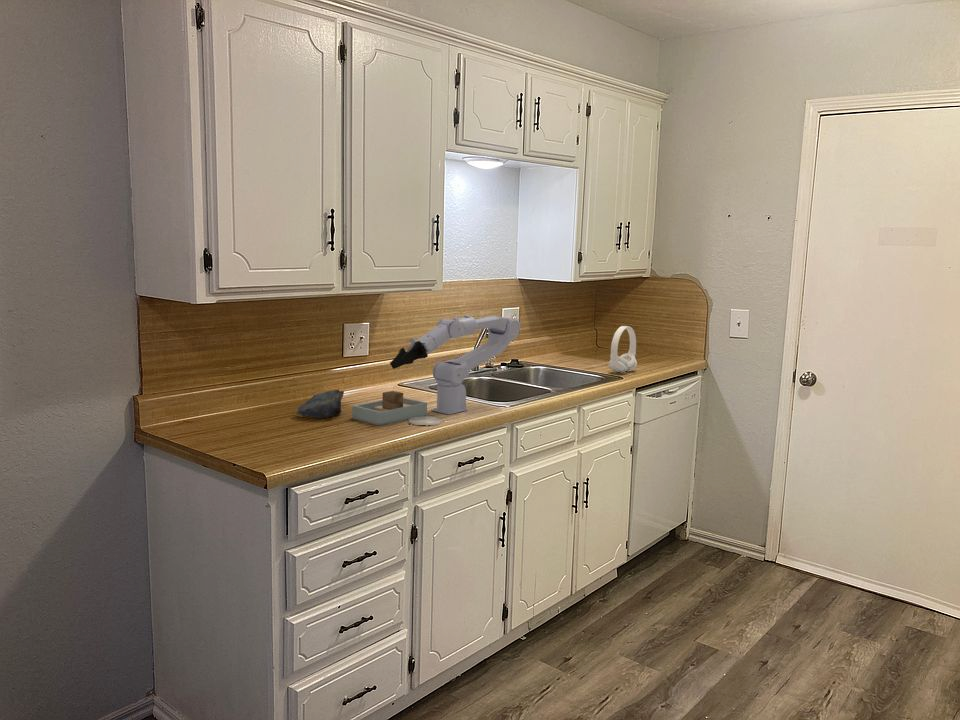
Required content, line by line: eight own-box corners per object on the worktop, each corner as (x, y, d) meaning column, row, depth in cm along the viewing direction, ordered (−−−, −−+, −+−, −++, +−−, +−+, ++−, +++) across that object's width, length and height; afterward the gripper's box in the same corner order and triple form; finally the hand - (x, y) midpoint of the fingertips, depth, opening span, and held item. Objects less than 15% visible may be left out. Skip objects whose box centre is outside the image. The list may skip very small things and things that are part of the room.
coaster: (424, 416, 243) (424, 414, 243) (448, 422, 237) (448, 420, 237) (401, 421, 235) (401, 419, 235) (425, 427, 229) (425, 425, 229)
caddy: (399, 408, 253) (399, 396, 252) (426, 415, 245) (427, 402, 244) (352, 418, 237) (352, 405, 237) (380, 425, 230) (380, 412, 229)
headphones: (639, 370, 340) (643, 325, 337) (620, 376, 325) (623, 328, 322) (623, 368, 344) (626, 323, 341) (603, 373, 330) (606, 326, 326)
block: (392, 406, 245) (393, 390, 244) (402, 408, 242) (403, 392, 241) (382, 408, 241) (382, 392, 240) (392, 410, 238) (392, 394, 238)
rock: (353, 418, 238) (348, 405, 247) (345, 396, 234) (340, 383, 243) (305, 436, 235) (301, 422, 244) (295, 414, 231) (292, 400, 240)
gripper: (411, 336, 247) (380, 356, 239) (434, 325, 235) (402, 347, 228) (423, 355, 248) (392, 376, 240) (446, 345, 236) (414, 367, 229)
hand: (397, 363), depth 234 cm, fingers open, 7 cm apart
